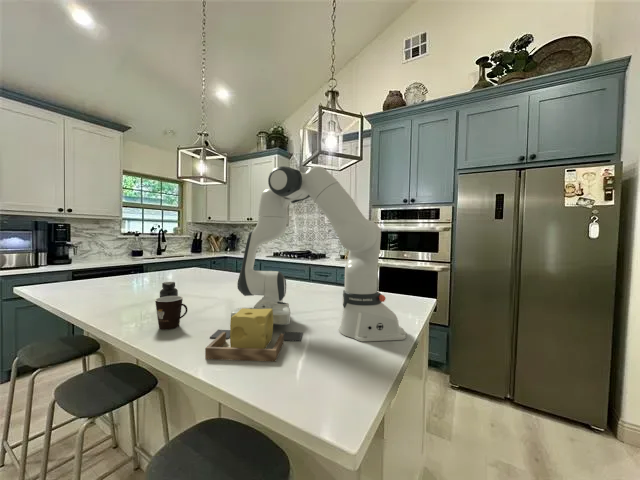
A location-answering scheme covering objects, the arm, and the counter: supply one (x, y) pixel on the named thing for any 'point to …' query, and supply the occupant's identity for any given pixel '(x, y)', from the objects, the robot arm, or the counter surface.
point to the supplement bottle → (168, 289)
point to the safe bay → (242, 351)
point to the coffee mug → (169, 311)
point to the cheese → (251, 328)
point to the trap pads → (287, 335)
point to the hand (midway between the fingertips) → (255, 323)
